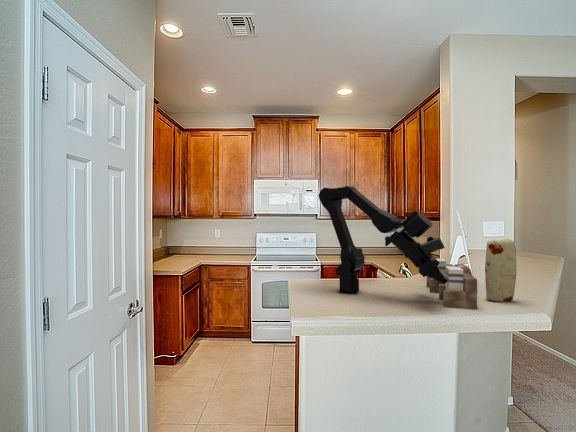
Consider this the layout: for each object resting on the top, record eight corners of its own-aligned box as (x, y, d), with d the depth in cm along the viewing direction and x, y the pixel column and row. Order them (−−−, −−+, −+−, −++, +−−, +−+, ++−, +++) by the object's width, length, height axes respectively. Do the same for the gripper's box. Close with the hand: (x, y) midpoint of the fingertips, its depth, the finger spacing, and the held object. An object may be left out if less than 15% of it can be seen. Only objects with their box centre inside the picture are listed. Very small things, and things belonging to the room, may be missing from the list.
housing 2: (444, 308, 99) (444, 278, 99) (438, 299, 108) (438, 272, 108) (477, 310, 97) (477, 279, 96) (468, 301, 106) (468, 273, 106)
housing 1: (430, 293, 116) (430, 267, 116) (426, 287, 126) (426, 263, 125) (457, 295, 114) (457, 268, 114) (452, 288, 123) (452, 264, 123)
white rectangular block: (448, 305, 100) (448, 269, 100) (444, 300, 106) (444, 266, 106) (463, 306, 99) (463, 270, 99) (459, 301, 105) (459, 266, 105)
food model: (494, 304, 102) (494, 239, 102) (478, 298, 109) (479, 238, 108) (522, 303, 103) (522, 239, 103) (505, 297, 110) (505, 237, 110)
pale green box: (433, 291, 118) (433, 260, 117) (431, 287, 123) (431, 258, 123) (446, 292, 116) (446, 261, 116) (443, 288, 122) (443, 258, 122)
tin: (474, 292, 117) (474, 268, 117) (464, 292, 118) (464, 268, 118) (460, 283, 132) (460, 262, 132) (452, 283, 133) (452, 262, 132)
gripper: (431, 230, 95) (474, 270, 92) (424, 227, 113) (459, 260, 110) (402, 257, 98) (443, 296, 95) (399, 249, 116) (434, 282, 113)
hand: (446, 282), depth 103 cm, fingers closed, pressing on white rectangular block
